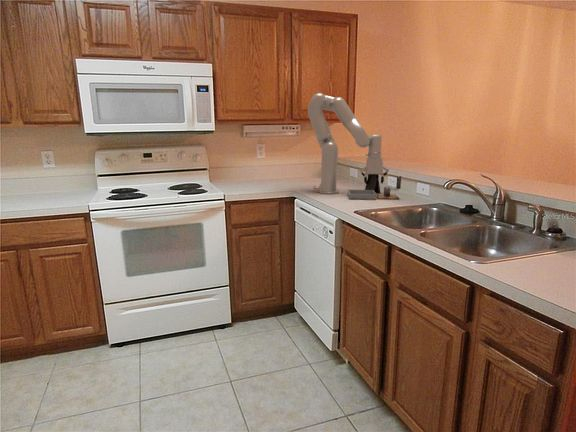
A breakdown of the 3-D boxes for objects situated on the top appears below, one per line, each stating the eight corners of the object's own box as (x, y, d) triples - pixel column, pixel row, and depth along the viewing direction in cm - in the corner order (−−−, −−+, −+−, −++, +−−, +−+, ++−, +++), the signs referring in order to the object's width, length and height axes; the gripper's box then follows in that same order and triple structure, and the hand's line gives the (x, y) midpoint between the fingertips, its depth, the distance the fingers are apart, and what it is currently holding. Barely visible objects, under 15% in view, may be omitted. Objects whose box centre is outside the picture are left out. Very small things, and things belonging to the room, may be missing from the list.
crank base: (377, 199, 222) (377, 197, 222) (374, 195, 233) (375, 193, 233) (399, 199, 221) (399, 197, 221) (395, 195, 232) (395, 193, 232)
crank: (382, 195, 226) (383, 175, 224) (385, 194, 229) (386, 174, 227) (398, 197, 221) (400, 176, 218) (400, 196, 224) (402, 176, 221)
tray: (349, 199, 221) (349, 194, 220) (347, 194, 237) (347, 189, 236) (376, 200, 220) (376, 194, 219) (372, 194, 236) (373, 190, 235)
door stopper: (372, 194, 237) (373, 174, 234) (363, 193, 241) (364, 173, 238) (380, 192, 243) (381, 173, 240) (372, 191, 247) (373, 172, 244)
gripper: (360, 156, 233) (360, 184, 237) (390, 155, 232) (389, 184, 236) (359, 155, 241) (359, 182, 245) (388, 154, 239) (387, 182, 243)
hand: (373, 183), depth 240 cm, fingers open, 9 cm apart
